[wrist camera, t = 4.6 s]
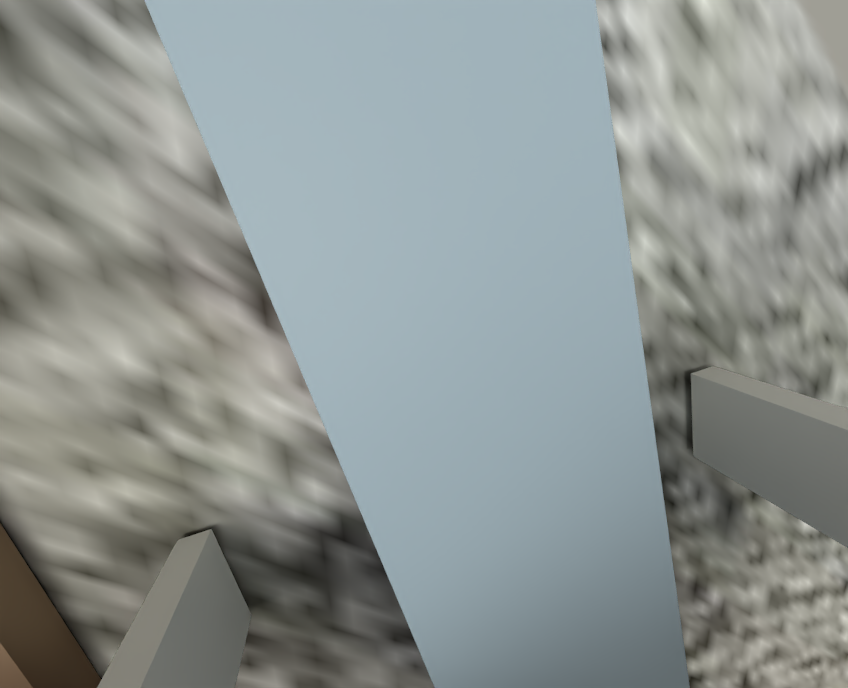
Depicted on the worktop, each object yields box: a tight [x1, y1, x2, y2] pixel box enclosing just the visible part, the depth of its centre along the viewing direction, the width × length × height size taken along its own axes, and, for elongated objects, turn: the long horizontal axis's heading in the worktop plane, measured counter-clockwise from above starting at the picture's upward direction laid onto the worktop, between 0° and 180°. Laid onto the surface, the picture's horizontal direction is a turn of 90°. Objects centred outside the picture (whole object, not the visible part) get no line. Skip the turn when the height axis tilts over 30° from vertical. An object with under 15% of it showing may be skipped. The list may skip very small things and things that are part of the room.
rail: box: [145, 0, 690, 688], centre depth 8 cm, size 24×4×5 cm, turn 17°
